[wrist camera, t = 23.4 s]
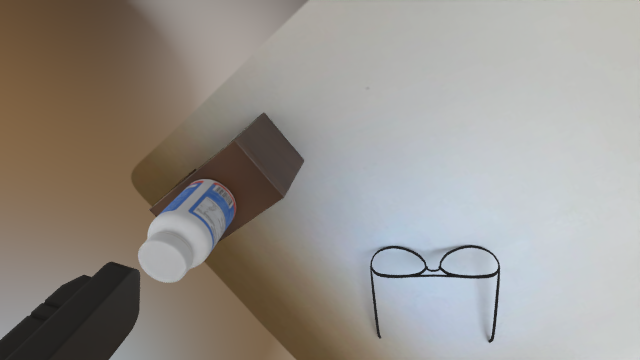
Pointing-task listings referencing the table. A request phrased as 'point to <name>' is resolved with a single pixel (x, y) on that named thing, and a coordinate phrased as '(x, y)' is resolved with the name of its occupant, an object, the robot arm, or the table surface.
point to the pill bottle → (187, 230)
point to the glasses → (437, 276)
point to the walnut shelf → (247, 172)
